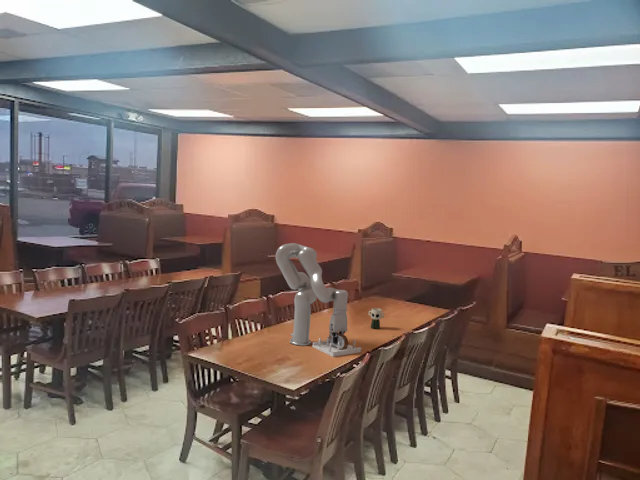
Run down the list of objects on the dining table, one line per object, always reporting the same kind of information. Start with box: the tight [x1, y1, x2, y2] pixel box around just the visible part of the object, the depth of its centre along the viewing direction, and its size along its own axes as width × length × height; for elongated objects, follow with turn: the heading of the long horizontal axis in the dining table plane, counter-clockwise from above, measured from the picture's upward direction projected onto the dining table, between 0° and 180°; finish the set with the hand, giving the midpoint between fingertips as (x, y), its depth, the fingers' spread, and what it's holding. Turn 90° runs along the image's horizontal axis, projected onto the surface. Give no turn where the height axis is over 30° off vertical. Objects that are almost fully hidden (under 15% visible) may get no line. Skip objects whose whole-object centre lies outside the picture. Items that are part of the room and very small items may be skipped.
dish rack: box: [312, 336, 362, 358], centre depth 296 cm, size 19×20×6 cm
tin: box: [328, 332, 349, 350], centre depth 295 cm, size 15×3×8 cm, turn 37°
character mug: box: [368, 307, 385, 330], centre depth 350 cm, size 11×7×13 cm, turn 68°
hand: (337, 342), depth 296 cm, fingers open, 2 cm apart
